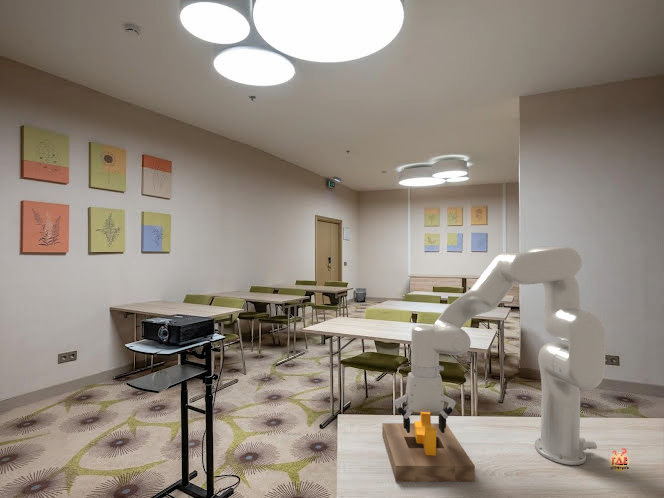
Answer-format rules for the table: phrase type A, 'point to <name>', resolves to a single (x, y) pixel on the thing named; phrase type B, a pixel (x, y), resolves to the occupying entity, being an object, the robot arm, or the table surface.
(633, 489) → the table surface
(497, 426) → the table surface
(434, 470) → the cutout shelf
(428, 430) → the orange curved block
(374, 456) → the table surface
